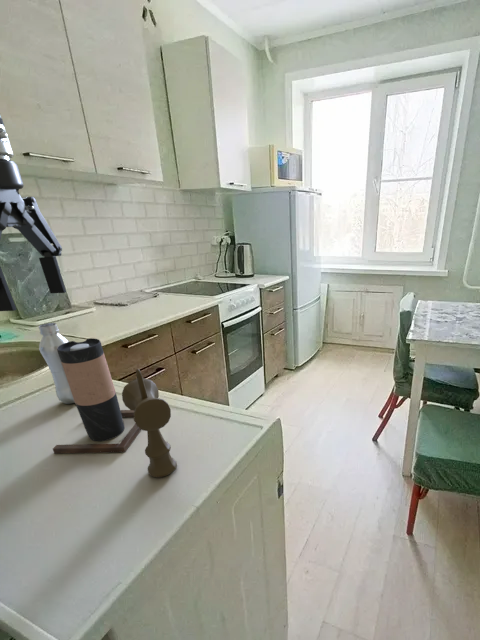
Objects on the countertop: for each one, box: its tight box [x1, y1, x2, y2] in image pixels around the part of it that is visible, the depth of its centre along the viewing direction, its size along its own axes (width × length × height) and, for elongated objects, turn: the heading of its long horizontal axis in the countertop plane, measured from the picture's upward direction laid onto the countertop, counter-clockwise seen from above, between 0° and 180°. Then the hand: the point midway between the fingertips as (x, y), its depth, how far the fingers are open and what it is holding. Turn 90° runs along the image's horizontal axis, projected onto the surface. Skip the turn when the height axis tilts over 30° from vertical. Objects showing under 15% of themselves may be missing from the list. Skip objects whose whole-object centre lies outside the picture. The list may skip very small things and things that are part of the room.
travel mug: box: [57, 337, 125, 442], centre depth 72 cm, size 8×8×20 cm
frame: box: [52, 409, 142, 455], centre depth 76 cm, size 14×15×1 cm
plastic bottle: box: [38, 322, 75, 405], centre depth 86 cm, size 6×7×20 cm
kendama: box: [121, 368, 178, 478], centre depth 59 cm, size 6×10×20 cm, turn 33°
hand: (35, 301), depth 62 cm, fingers open, 13 cm apart
